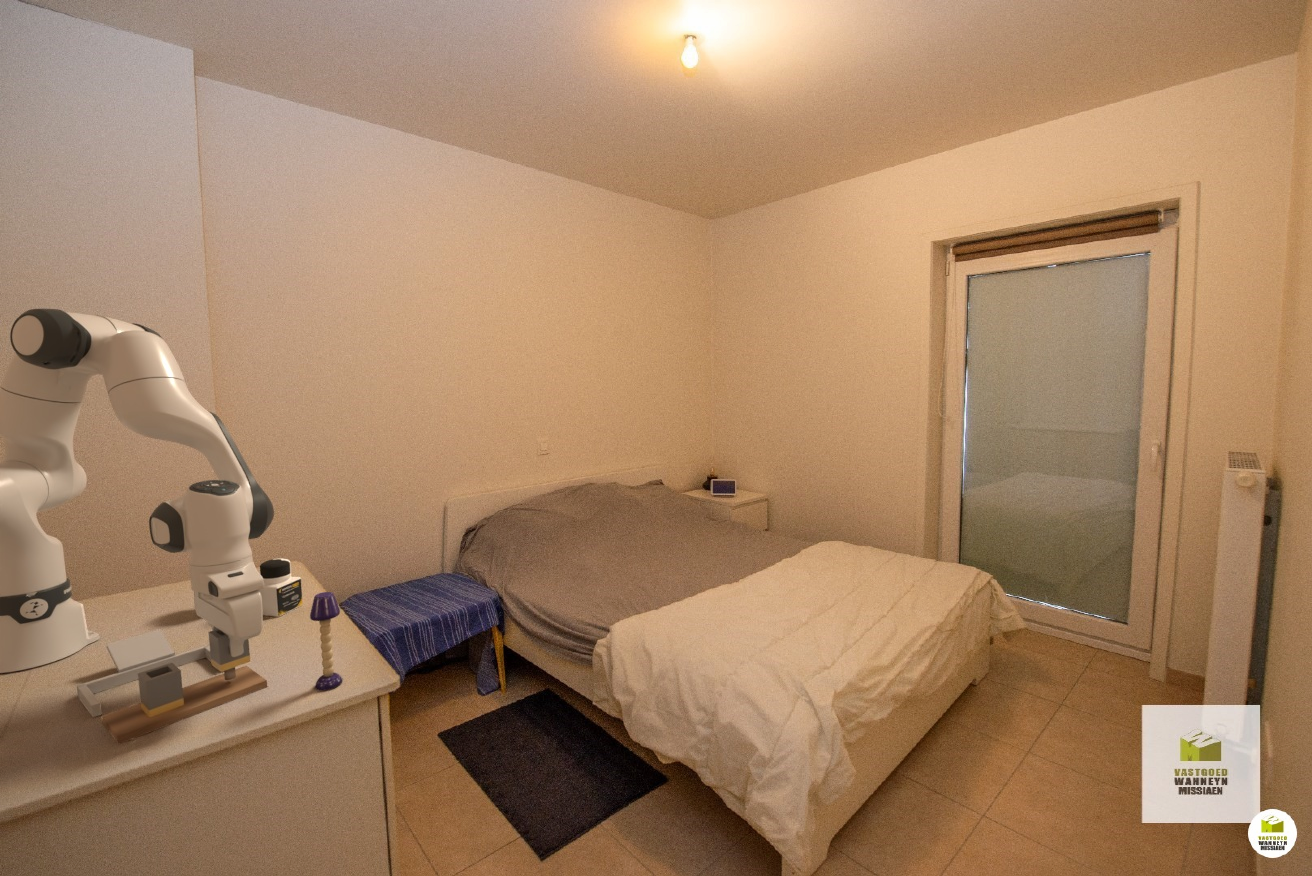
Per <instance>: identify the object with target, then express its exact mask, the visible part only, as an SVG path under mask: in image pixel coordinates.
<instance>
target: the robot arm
mask: <svg viewBox="0 0 1312 876" xmlns="http://www.w3.org/2000/svg"><path fill="white" fill-rule="evenodd" d="M9 333H10V334H9V336H10V337H9V339H10V344H11V346H12V348H13V350H14V355H12V358H11V359H10V362H9V363H8V366H7V368H6V371H5V372H4V374H3V375H4V376H3V377H2V381H1V384H0V438H2V440H3V444H4V456H3V458H2V460H1V461H0V674H3V673H11V672H12V673H13V672H17V671H23V670H28V669H32V668H36V667H40V666H43V665H47V664H50V663H53V662H56V661H58V660H59V661H60V660H62V659H65V658H67V657H69V656H72V655H74V654H75V653H78V652H79V651H80V650H82V649H83V648H84V647H86V646H88V645H89V644H92V643H94V642H96V641H99V640H100V639H101V636H100V634H99V633H98V632H95V631H92V630H89V629H88V626H87V625H88V624H87V621H86V614H85V613H86V612H85V608H84V604H83V603H82V602H81V603H80V602H79V601H76V600H74V598H72V596H73V595H72V589H73V587H72V584H71V580H70V578H68V577H67V573H66V572H67V571H66V563H65V553H64V546H63V543H62V541H61V540H60V539H59V538H58V537H54V536H52V535H50V534H47V533H46V532H45V530H43V528H42V526H41V524H40V523H39V520H38V517H37V513H42V512H45V511H49V510H54V509H56V508H59V507H61V506H63V505H65V504H67V503H68V502H71V501H72V500H74V499H76V498H77V497H79V496H80V495H81V494H82V493H84V491H85V489H86V487H87V482H88V478H87V473H86V471H85V470H84V468H83V466H82V465H80V463H78V462H77V461H76V458H75V457H76V456H75V453H74V434H75V430H76V427H77V423H78V420H79V416H80V412H81V408H82V405H83V403H84V402H83V401H84V398H85V396H86V395H85V394H86V390H87V386H88V383H89V381H90V380H91V378H92V377H93V376H96V375H101V376H102V377H103V380H104V384H105V388H106V391H107V395H108V399H109V402H110V404H111V405H110V406H111V408H112V410H113V413H114V414H115V416H116V418H117V420H118V421H119V423H121V424H122V425H123V426H124V427H126V428H127V429H128V430H130V431H132V432H134V433H136V434H138V435H141V436H144V437H146V438H150V439H154V440H161V441H167V442H172V443H175V444H180V445H184V446H187V447H189V448H192V449H194V450H197V451H198V452H199V453H201V455H203V456H204V457H205V458H206V460H207V461H208V462H209V463H208V464H209V465H210V466H211V468H212V470H213V471H214V474H215V476H216V478H217V479H210V480H202V481H198V482H194V483H192V484H191V485H189V486H188V487H187V488H186V489H185V492H184V494H182V495H180V496H178V497H175V498H172V499H170V500H166V501H162V502H161V503H160V504H159V505H157V507H155V509H154V510H153V511H152V513H151V515H150V516H149V519H148V528H149V534H150V540H151V542H152V543H153V545H154V546H156V547H158V548H160V549H161V550H163V551H165V552H168V553H170V554H171V553H173V554H175V553H187V552H188V553H189V560H188V566H189V567H188V568H189V577H190V588H191V589H190V590H191V591H192V592H193V600H194V601H193V602H194V610H195V611H194V612H195V613H196V616H198V617H199V618H201V619H203V620H204V621H205V622H207V623H209V624H210V627H211V631H213V630H217V629H219V630H221V631H222V632H224V633H225V634H227V635H228V638H229V639H230V645H229V646H228V651H229V654H230V655H231V656H232V657H236V656H239V655H242V654H243V652H244V649H243V644H244V640H247V639H248V640H251V639H253V638H255V637H258V636H259V635H261V633H262V630H263V625H264V624H263V623H264V621H263V619H264V617H263V616H264V615H263V610H262V597H261V593H260V591H259V589H262V588H263V587H264V581H263V577H262V576H261V575H260V571H258V568H257V567H256V565H255V562H254V560H253V559H254V558H253V550H252V548H251V545H250V542H249V540H252V539H253V540H254V539H258V538H259V537H261V536H262V535H263V534H264V533H265V532H266V531H267V530H268V528H269V527H270V526H271V524H272V522H273V519H274V517H275V511H274V510H275V509H274V506H273V502H272V501H271V499H270V497H269V496H268V494H267V493H266V492H265V491H264V490H263V488H262V486H261V485H260V484H259V483H258V482H257V479H256V478H255V476H254V475H253V474H252V471H251V469H250V468H249V466H248V465H247V463H246V460H245V459H244V457H243V455H242V453H241V452H240V450H239V448H238V446H237V445H236V442H235V441H234V439H233V437H232V436H231V434H230V432H229V430H228V429H227V427H226V426H225V424H224V422H223V420H221V418H220V417H219V416H218V415H217V414H216V413H214V412H211V411H209V410H207V409H206V408H205V407H204V406H202V405H201V404H200V403H199V402H198V401H197V399H196V398H194V396H193V395H192V393H191V392H190V390H189V388H188V386H187V382H186V380H185V377H184V374H183V372H182V369H181V368H180V366H179V363H178V362H177V360H176V358H175V356H174V354H173V352H172V351H171V349H170V347H169V345H168V344H167V342H166V341H165V340H164V338H163V337H162V336H161V335H160V333H158V332H156V331H155V330H153V329H152V328H149V327H147V326H144V325H141V324H139V323H133V322H132V323H131V322H129V321H128V322H127V321H124V320H121V319H116V318H113V317H108V316H105V315H99V314H97V315H96V314H95V315H94V314H87V313H80V312H71V311H70V312H69V311H64V310H61V309H58V308H57V309H56V308H31V309H28V310H26V311H24V312H23V313H21V314H20V315H19V316H18V317H17V318H16V319H15V320H14V322H13V324H12V326H11V329H10V332H9Z"/></svg>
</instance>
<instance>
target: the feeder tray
mask: <svg viewBox="0 0 1312 876" xmlns="http://www.w3.org/2000/svg"><path fill="white" fill-rule="evenodd" d="M106 650H107V651H108V654H109V656H110V657H111V659H112V662H113V664H114V666H115V668H116V671H117V672H116V673H112V674H109V675H107V676H102V677H100V678H96V679H93V680H89V681H87V682H84V683H81V684H77V685H76V693H77V697H78V699H79V700H80V702H81V703H82V705H83V706H84V707H85V708H86V710H87V711H88V712H89V714H90V715H91V717H92V718H96V717H98V716H101V715H102V708H101V707H102V706H101V701H100V700H98V698H97V696H95V694H96V693H99V692H103V691H106V690H109V689H112V688H115V687H118V686H122V685H125V684H128V683H131V682H134V681H137V680H138V673H141V672H144V671H147V670H150V669H153V668H157V667H160V666H163V665H166V664H169V663H173V664H174V665H175V666H176V667H180V666H183V665H186V664H189V663H192V662H195V661H199V660H202V659H205V658H206V659H207V660H208V661H209V662H211V654H210V644H205V645H203V646H199V647H195V648H193V649H190V650H187V651H183V652H181V653H178V654H176V652H175V651H174V649H173V647H172V645H171V644H170V641H169V640H168V638H167V637H166V634H164V631H163V630H162V629H161V628H160V629H156V630H151V631H149V632H145V633H142V634H138V635H134V636H130V637H127V638H126V637H125V638H123V639H120V640H116V641H112V642H108V643H106Z"/></svg>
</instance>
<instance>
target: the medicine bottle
mask: <svg viewBox="0 0 1312 876" xmlns="http://www.w3.org/2000/svg"><path fill="white" fill-rule="evenodd" d="M291 564H292V563H291V561H290V559H288V558H287V559H286V558H273V559H269V560H266V561H264V562H262V563H260V565H259V573H260V575H261V576H262V577H263V581H264V587H263V588H262V589H259V591H260V593H261V597H262V610H263V616H266V617H276V618H277V617H278V618H279V617H282V616H283V615H285V614H288V613H290V612H292V611H294V610H296V609H299V608H300V607H302V606H303V590H302V578H301V577H300V576H292V566H291Z"/></svg>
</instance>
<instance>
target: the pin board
mask: <svg viewBox="0 0 1312 876" xmlns="http://www.w3.org/2000/svg"><path fill="white" fill-rule="evenodd" d="M267 687H268V680H267V679H266V678H264V677H263V676H261V675H260V674H258V672H256V671H255V670H254V669H252V668H251V667H249V666H247V665H245V666H241V667H239V668H236V667H234V668H231V669H228V670H225V671H223V673H222V674H221V673H220V674H219V675H215V676H213V677H209V678H207V679H204V680H201V681H198V682H196V683H193V684H192V683H191V684H190V685H187V686H185V687H182V689H183V699H184V705H182V706H180V707H177V708H174V709H172V710H169V711H166V712H163V713H161V714H158V715H155V716H153V717H149V716H148V715H147V714H146V713H145V712H144V711H143V710H142V708H141V702H138V703H136V704H134V705H133V704H132V705H129V706H127V707H124V708H122V709H118V710H115V711H113V712H110V713H107V714H103V715H102V716H101V720H102V725H104V727H105V728H106V730H107V731H108V732H109V733H110V735H111V736H112V737H113V739H114V741H116V742H117V744H118V745H119V744H120V745H121V744H123V743H125V742H127V741H130V740H133V739H135V738H139V736H143V735H145V734H146V735H147V734H148V733H151V732H153V731H156V730H158V729H161V728H164V727H166V726H169V725H171V724H174V723H177V722H179V721H182V720H184V719H187V718H191V717H192V716H195V715H197V714H200V713H203V712H205V711H209V710H210V709H213V708H216V707H218V706H221V705H223V704H227V703H228V702H230V701H231V702H232V701H233V700H236V699H239V698H241V697H244V696H247V695H249V694H251V693H254V692H257V691H259V690H262V689H265V688H267Z"/></svg>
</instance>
